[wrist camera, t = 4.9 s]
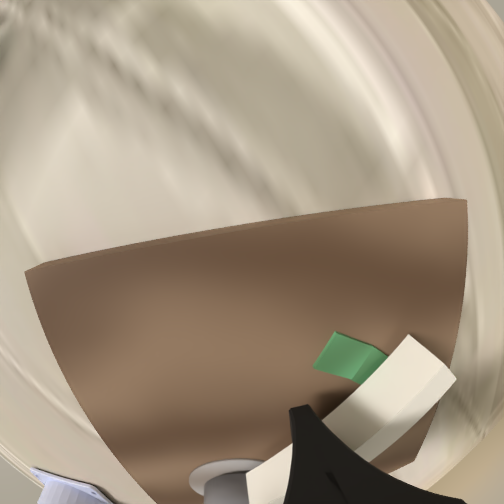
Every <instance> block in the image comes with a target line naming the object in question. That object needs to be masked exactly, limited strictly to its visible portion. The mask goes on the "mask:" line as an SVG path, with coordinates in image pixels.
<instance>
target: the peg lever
mask: <svg viewBox="0 0 504 504" xmlns="http://www.w3.org/2000/svg"><path fill="white" fill-rule="evenodd" d="M455 381H456V377H455V376H454V375H453V374H452V372H451V371H450V370H449V369H448V368H447V366H446V365H445V364H444V363H443V362H441V361H440V360H439V359H438V358H437V357H436V356H434V355H433V354H432V353H431V352H430V351H428V350H427V349H426V348H425V347H423V346H422V345H421V344H420V343H419V342H417V341H416V340H415V339H414V338H413V337H411V336H410V335H409V334H408V335H407V336H406V338H405V339H404V340H403V341H402V342H401V344H400V345H399V346H398V347H397V348H396V349H395V350H394V352H393V353H392V354H391V355H390V356H389V357H388V358H387V359H386V360H385V361H384V362H383V364H382V365H381V366H380V367H379V368H378V369H377V370H376V371H375V372H374V373H373V374H372V375H371V376H370V377H369V378H368V379H367V380H366V381H365V382H364V383H363V384H362V385H361V386H360V387H359V388H358V389H357V390H356V391H355V392H354V393H352V394H351V395H350V396H349V397H348V398H347V399H346V400H345V401H344V402H343V403H342V404H340V405H339V406H338V407H337V408H336V409H335V410H334V411H332V412H331V413H330V414H329V415H328V416H326V417H325V418H324V419H323V420H322V422H323V423H324V424H325V425H326V426H327V427H328V428H329V429H330V430H331V431H332V432H333V433H334V434H335V435H336V436H337V437H338V438H339V439H340V440H341V441H342V442H343V443H345V444H346V445H347V446H348V447H349V448H350V449H352V450H353V451H354V452H355V453H357V454H358V455H359V456H360V457H362V458H363V459H365V460H366V461H367V462H370V461H371V460H373V459H374V458H375V457H377V456H378V455H379V454H381V453H382V452H383V451H384V450H386V449H387V448H388V447H389V446H391V445H392V444H393V443H394V442H395V441H396V440H398V439H399V438H400V437H401V436H402V435H403V434H404V433H406V432H407V431H408V430H409V429H410V428H411V427H412V426H413V425H414V424H415V423H416V422H417V421H418V420H420V419H421V418H422V417H423V416H424V415H425V414H426V413H427V412H428V411H429V410H430V409H431V407H432V406H433V405H434V404H435V403H436V402H437V401H438V400H439V399H440V398H441V397H442V396H443V395H444V393H445V392H446V391H447V390H448V389H449V388H450V387H451V385H452V384H453V383H454V382H455ZM291 460H292V444H290V445H289V446H288V447H286V448H285V449H283V450H282V451H281V452H279V453H278V454H276V455H275V456H273V457H272V458H270V459H269V460H267V461H266V462H264V463H262V464H261V465H259V466H258V467H256V468H254V469H253V470H251V471H249V472H248V473H246V474H227V475H222V476H218V477H215V478H212V479H210V480H208V481H207V482H206V483H205V484H204V504H283V502H284V498H285V494H286V490H287V486H288V480H289V475H290V467H291Z"/></svg>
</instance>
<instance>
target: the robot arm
mask: <svg viewBox="0 0 504 504" xmlns="http://www.w3.org/2000/svg"><path fill="white" fill-rule="evenodd" d="M289 420H290V429H291V438H292V460H291V467H290V475H289V480H288V486H287V490H286V494H285V498H284V502H283V504H466V503H465V502H464V501H463V500H462V499H458V498H452V497H447V496H443V495H439V494H435V493H432V492H428V491H426V490H422V489H420V488H417V487H415V486H412V485H410V484H407V483H405V482H403V481H401V480H398V479H396V478H394V477H392V476H390V475H389V474H387V473H385V472H383V471H381V470H380V469H378V468H377V467H375V466H373V465H372V464H370V463H369V462H367V461H366V460H365V459H363V458H362V457H360V456H359V455H358V454H357V453H355V452H354V451H353V450H352V449H350V448H349V447H348V446H347V445H346V444H345V443H343V442H342V441H341V440H340V439H339V438H338V437H337V436H336V435H335V434H334V433H333V432H332V431H331V430H330V429H329V428H328V427H327V426H326V425H325V424H324V423H323V422H322V420H321V419H320V418H319V417H318V416H317V415H316V413H315V412H314V411H313V409H312V408H311V407H310V405H308V404H306V405H302V406H297V407H293V408H290V410H289ZM30 471H31V472H32V473H33V474H34V475H35V476H36V477H37V478H38V479H39V480H40V481H41V482H42V483H43V484H44V485H45V486H44V488H43V491H42V493H41V496H40V498H39V500H38V503H37V504H113V503H112V502H111V501H110V500H109V499H108V498H107V497H106V496H105V495H103V494H102V493H101V492H100V491H99V490H98V489H97V488H96V487H94V486H93V485H90V484H86V483H82V482H78V481H74V480H70V479H66V478H63V477H59V476H56V475H53V474H50V473H47V472H44V471H41V470H38V469H36V468H33V467H31V468H30Z"/></svg>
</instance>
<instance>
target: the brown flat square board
mask: <svg viewBox="0 0 504 504" xmlns="http://www.w3.org/2000/svg"><path fill="white" fill-rule="evenodd" d="M467 245H468V214H467V200H464V199H453V198H438V199H429V200H419V201H410V202H401V203H392V204H384V205H376V206H368V207H360V208H352V209H344V210H337V211H329V212H322V213H315V214H308V215H301V216H294V217H287V218H281V219H274V220H268V221H261V222H255V223H249V224H242V225H236V226H230V227H224V228H218V229H212V230H206V231H201V232H195V233H189V234H184V235H178V236H173V237H167V238H162V239H156V240H151V241H146V242H141V243H135V244H130V245H125V246H120V247H115V248H110V249H105V250H100V251H95V252H91V253H86V254H81V255H76V256H72V257H67V258H63V259H58V260H54V261H49V262H45V263H42V264H40V265H38V266H36V267H34V268H31V269H29V270H27V271H25V276H26V280H27V283H28V287H29V290H30V293H31V296H32V300H33V303H34V306H35V309H36V311H37V314H38V317H39V320H40V323H41V325H42V328H43V330H44V333H45V335H46V338H47V340H48V343H49V345H50V347H51V349H52V352H53V354H54V356H55V358H56V360H57V363H58V365H59V367H60V369H61V371H62V373H63V375H64V377H65V379H66V381H67V383H68V384H69V386H70V388H71V390H72V392H73V394H74V395H75V397H76V399H77V401H78V402H79V404H80V406H81V407H82V409H83V411H84V412H85V414H86V415H87V417H88V419H89V420H90V422H91V423H92V425H93V426H94V428H95V429H96V431H97V432H98V434H99V435H100V437H101V438H102V439H103V441H104V442H105V444H106V445H107V446H108V448H109V449H110V450H111V452H112V453H113V454H114V456H115V457H116V458H117V459H118V461H119V462H120V463H121V464H122V466H123V467H124V468H125V469H126V471H127V472H128V473H129V474H130V475H131V476H132V478H133V479H134V480H135V481H136V482H137V483H138V484H139V485H140V487H141V488H142V489H143V490H144V491H145V492H146V493H147V494H148V495H149V496H150V497H151V498H152V499H153V500H154V501H155V502H156V503H157V504H204V484H205V483H206V482H207V481H208V480H210V479H212V478H215V477H218V476H222V475H227V474H246V473H248V472H249V471H251V470H253V469H254V468H256V467H258V466H259V465H261V464H262V463H264V462H266V461H267V460H269V459H270V458H272V457H273V456H275V455H276V454H278V453H279V452H281V451H282V450H283V449H285V448H286V447H288V446H289V445H290V444H292V438H291V429H290V420H289V410H290V408H293V407H297V406H302V405H306V404H308V405H310V407H311V408H312V409H313V411H314V412H315V413H316V415H317V416H318V417H319V418H320V419H321V420H323V419H324V418H325V417H326V416H328V415H329V414H330V413H331V412H332V411H334V410H335V409H336V408H337V407H338V406H339V405H340V404H342V403H343V402H344V401H345V400H346V399H347V398H348V397H349V396H350V395H351V394H352V393H354V392H355V391H356V390H357V389H358V388H359V387H360V386H361V385H362V384H363V383H364V382H365V381H366V380H367V379H368V378H369V377H370V376H371V375H372V374H373V373H374V372H375V371H376V370H377V369H378V368H379V367H380V366H381V365H382V364H383V362H384V361H385V360H386V359H387V358H388V357H389V356H390V355H391V354H392V353H393V352H394V350H395V349H396V348H397V347H398V346H399V345H400V344H401V342H402V341H403V340H404V339H405V338H406V336H407V335H408V334H409V335H410V336H411V337H413V338H414V339H415V340H416V341H417V342H419V343H420V344H421V345H422V346H423V347H425V348H426V349H427V350H428V351H430V352H431V353H432V354H433V355H434V356H436V357H437V358H438V359H439V360H440V361H441V362H443V363H444V364H445V365H446V366H447V368H448V369H449V368H450V364H451V360H452V356H453V352H454V348H455V343H456V338H457V334H458V328H459V323H460V317H461V311H462V304H463V297H464V288H465V278H466V266H467ZM439 400H440V399H439ZM439 400H438V401H437V402H436V403H435V404H434V405H433V406H432V407H431V409H430V410H429V411H428V412H427V413H426V414H425V415H424V416H423V417H422V418H421V419H420V420H418V421H417V422H416V423H415V424H414V425H413V426H412V427H411V428H410V429H409V430H408V431H407V432H406V433H404V434H403V435H402V436H401V437H400V438H399V439H398V440H396V441H395V442H394V443H393V444H392V445H391V446H389V447H388V448H387V449H386V450H384V451H383V452H382V453H381V454H379V455H378V456H377V457H375V458H374V459H373V460H371V461H370V462H369V463H370V464H372V465H373V466H375V467H377V468H378V469H380V470H381V471H383V472H385V473H387V474H388V473H390V472H393V471H395V470H397V469H399V468H401V467H403V466H405V465H407V464H409V463H411V462H413V461H414V460H415V458H416V456H417V454H418V452H419V450H420V448H421V446H422V443H423V441H424V439H425V437H426V434H427V432H428V430H429V427H430V425H431V422H432V420H433V417H434V414H435V412H436V409H437V406H438V403H439Z"/></svg>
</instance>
